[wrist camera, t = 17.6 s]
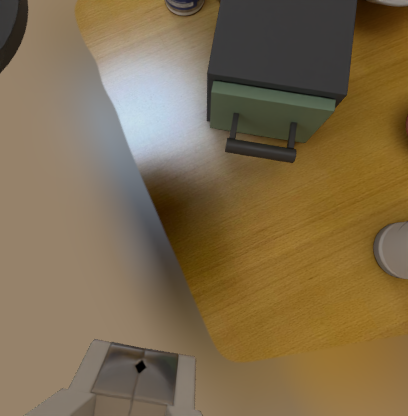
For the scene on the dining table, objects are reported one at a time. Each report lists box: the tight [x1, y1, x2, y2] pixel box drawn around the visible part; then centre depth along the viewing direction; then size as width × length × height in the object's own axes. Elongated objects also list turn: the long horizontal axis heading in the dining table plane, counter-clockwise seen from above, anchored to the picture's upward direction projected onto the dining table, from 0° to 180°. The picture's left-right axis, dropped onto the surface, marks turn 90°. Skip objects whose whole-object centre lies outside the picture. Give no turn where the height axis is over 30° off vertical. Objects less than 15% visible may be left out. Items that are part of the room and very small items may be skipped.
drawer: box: [210, 81, 336, 163], centre depth 31 cm, size 18×11×8 cm, turn 170°
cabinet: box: [207, 0, 357, 121], centre depth 31 cm, size 15×13×10 cm
